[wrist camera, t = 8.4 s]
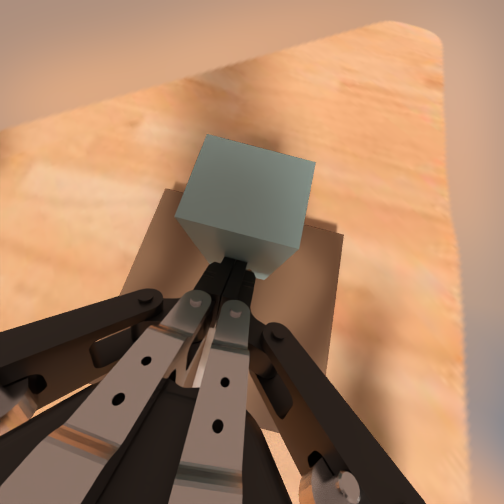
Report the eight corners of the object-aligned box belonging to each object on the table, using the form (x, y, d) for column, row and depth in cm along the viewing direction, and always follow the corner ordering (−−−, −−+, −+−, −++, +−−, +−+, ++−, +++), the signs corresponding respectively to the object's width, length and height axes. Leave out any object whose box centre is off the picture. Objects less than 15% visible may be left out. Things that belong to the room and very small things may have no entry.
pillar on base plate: (96, 374, 16) (16, 415, 10) (170, 196, 20) (144, 154, 14) (309, 429, 16) (350, 502, 10) (336, 239, 20) (374, 214, 15)
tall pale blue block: (211, 266, 17) (174, 216, 7) (224, 225, 18) (207, 133, 8) (264, 280, 17) (298, 249, 7) (274, 238, 18) (315, 162, 8)
